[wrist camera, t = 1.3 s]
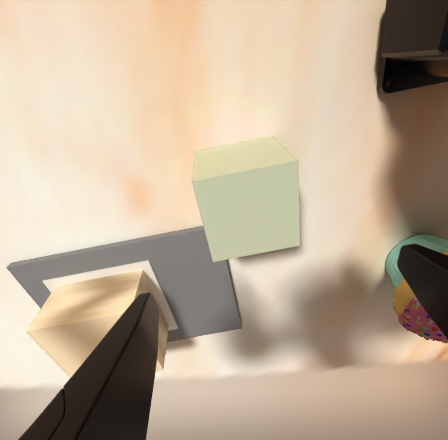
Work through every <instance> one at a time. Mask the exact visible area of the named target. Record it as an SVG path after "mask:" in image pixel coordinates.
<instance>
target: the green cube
mask: <svg viewBox="0 0 448 440" xmlns="http://www.w3.org/2000/svg"><path fill="white" fill-rule="evenodd" d="M192 184H193V188H194V192H195V195H196V199H197V203H198V207H199V211H200V214H201V218H202V222H203V226H204V230H205V234H206V237H207V241H208V245H209V249H210V253H211V256H212V260H213V262H217V261H222V260H227V259H232V258H238V257H243V256H248V255H253V254H259V253H264V252H269V251H274V250H280V249H285V248H290V247H295V246H300V216H299V173H298V160H297V159H296V158H295V157H294V156H293V155H292V154H291V153H290V152H289V151H288V150H287V149H286V148H285V147H284V146H282V145H281V144H280V143H279V142H278V141H277V140H276V139H275V138H274V137H273V136H269V137H264V138H259V139H254V140H249V141H244V142H239V143H234V144H229V145H224V146H219V147H214V148H209V149H205V150H200V151H195V152H194V160H193V172H192Z"/></svg>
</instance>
